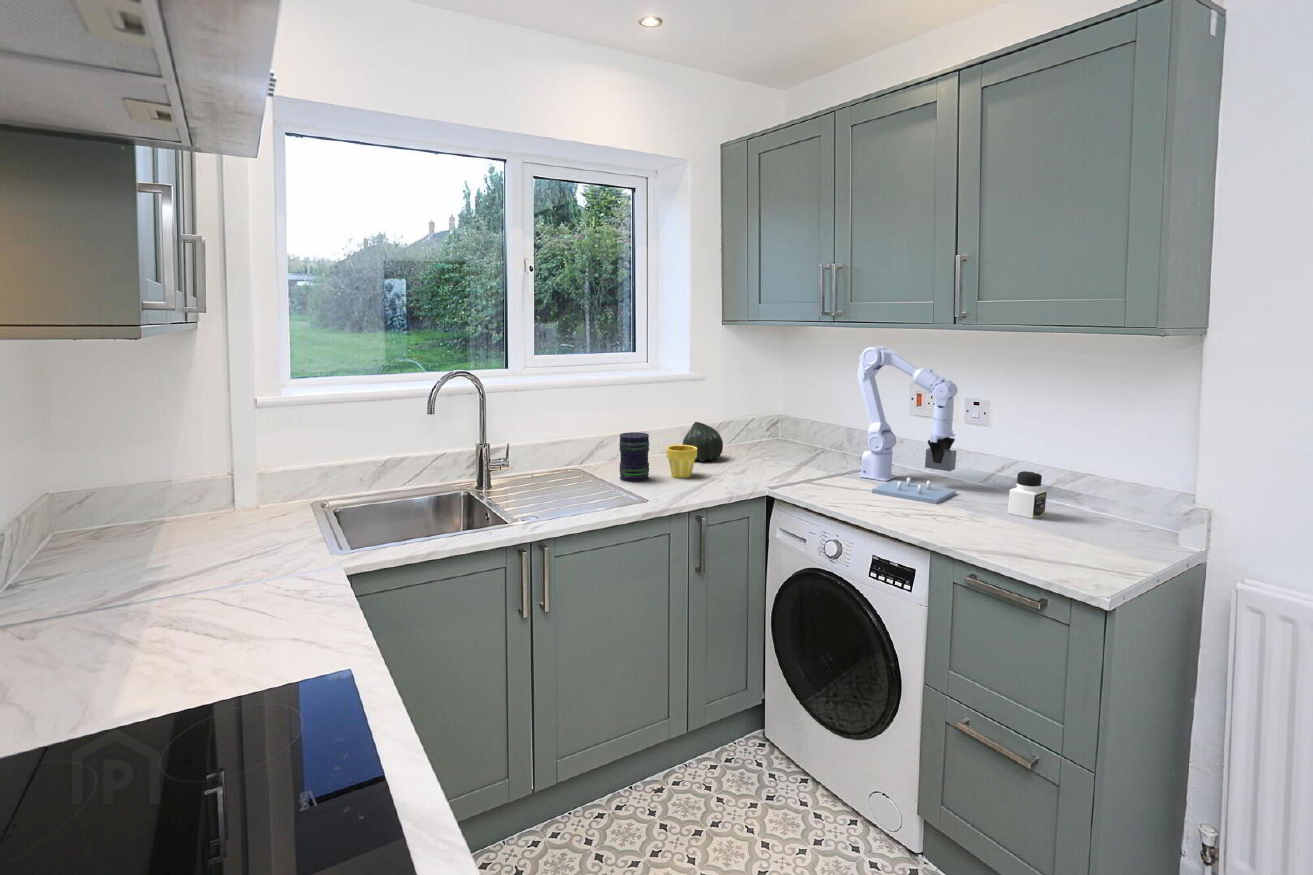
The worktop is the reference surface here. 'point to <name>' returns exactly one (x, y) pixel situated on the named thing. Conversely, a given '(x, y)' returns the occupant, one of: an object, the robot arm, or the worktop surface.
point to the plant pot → (681, 460)
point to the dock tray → (914, 491)
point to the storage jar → (634, 457)
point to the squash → (704, 441)
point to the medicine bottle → (1027, 496)
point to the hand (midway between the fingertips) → (939, 461)
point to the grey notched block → (946, 462)
